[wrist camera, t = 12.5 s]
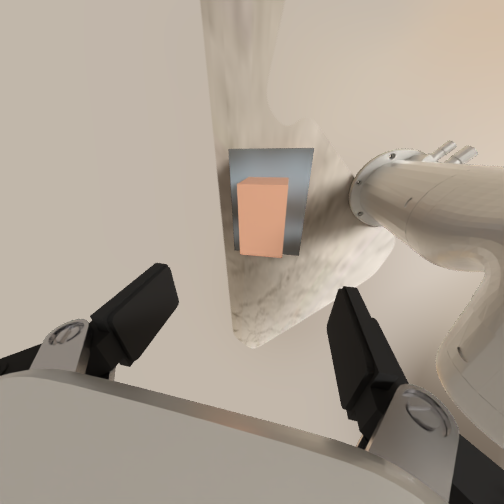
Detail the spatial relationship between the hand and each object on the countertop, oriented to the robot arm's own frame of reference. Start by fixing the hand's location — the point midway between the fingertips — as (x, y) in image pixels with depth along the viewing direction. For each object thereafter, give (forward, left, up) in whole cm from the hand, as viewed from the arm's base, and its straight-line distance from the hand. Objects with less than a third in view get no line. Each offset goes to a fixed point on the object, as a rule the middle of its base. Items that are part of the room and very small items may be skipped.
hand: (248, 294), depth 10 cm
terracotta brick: (0, -1, -17) cm, 17 cm away
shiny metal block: (0, -1, -29) cm, 29 cm away
